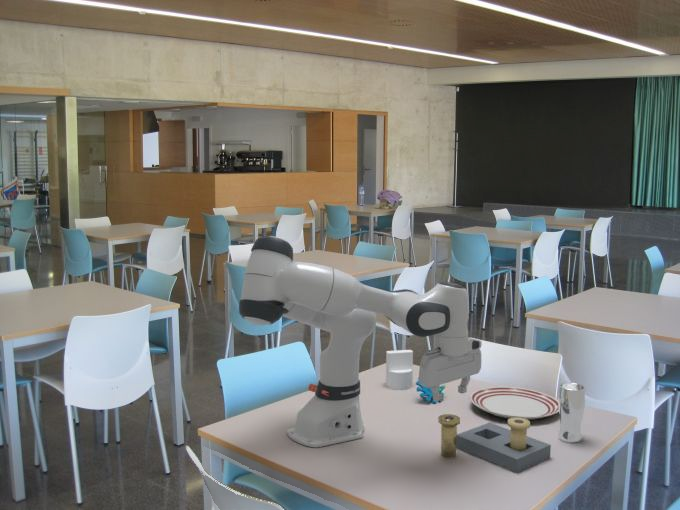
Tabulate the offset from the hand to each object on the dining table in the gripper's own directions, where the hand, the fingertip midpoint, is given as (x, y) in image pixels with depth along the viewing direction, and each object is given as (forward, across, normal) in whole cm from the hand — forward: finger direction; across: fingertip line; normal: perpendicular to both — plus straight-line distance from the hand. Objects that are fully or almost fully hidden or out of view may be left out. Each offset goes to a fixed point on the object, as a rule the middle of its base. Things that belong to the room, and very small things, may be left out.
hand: (450, 396), depth 183 cm
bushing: (+16, 0, 0) cm, 16 cm away
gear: (+16, +27, +33) cm, 45 cm away
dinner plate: (+17, +41, +10) cm, 45 cm away
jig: (+16, +12, -8) cm, 21 cm away
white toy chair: (+16, +29, +49) cm, 59 cm away
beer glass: (+16, +34, -14) cm, 40 cm away
